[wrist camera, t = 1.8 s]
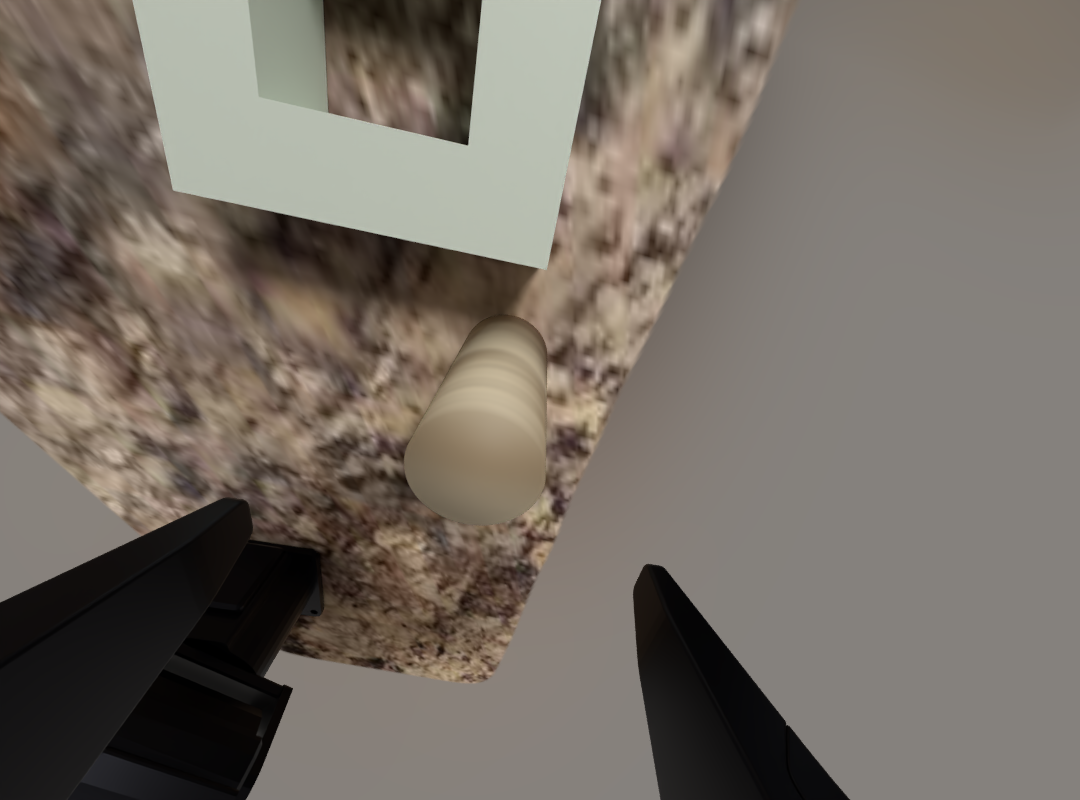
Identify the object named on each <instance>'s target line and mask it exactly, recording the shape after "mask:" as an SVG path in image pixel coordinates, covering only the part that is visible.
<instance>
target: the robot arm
mask: <svg viewBox="0 0 1080 800" xmlns="http://www.w3.org/2000/svg"><path fill="white" fill-rule="evenodd" d="M252 531H253V524H252V518H251V513H250V508H249V504H248V502H247V501H246V500H243V499H236V498H230V497H227V498H222V499H220V500H218V501H216V502H214V503H211V504H209V505H207V506H205V507H203V508H201V509H199V510H196V511H194V512H192V513H190V514H188V515H186V516H184V517H182V518H179V519H177V520H175V521H173V522H171V523H169V524H167V525H164V526H162V527H160V528H158V529H156V530H154V531H152V532H150V533H147V534H145V535H143V536H141V537H139V538H137V539H135V540H133V541H130V542H128V543H126V544H124V545H122V546H120V547H118V548H116V549H113V550H111V551H109V552H107V553H105V554H103V555H101V556H98V557H96V558H94V559H92V560H90V561H88V562H86V563H83V564H81V565H79V566H77V567H75V568H73V569H71V570H69V571H67V572H64V573H62V574H60V575H58V576H56V577H54V578H52V579H49V580H48V581H45V582H43V583H41V584H39V585H37V586H35V587H32V588H30V589H28V590H26V591H24V592H22V593H20V594H18V595H15V596H13V597H11V598H9V599H7V600H5V601H3V602H0V800H246V798H247V797H248V795H249V793H250V791H251V789H252V787H253V785H254V783H255V781H256V779H257V777H258V775H259V773H260V771H261V768H262V766H263V763H264V761H265V758H266V756H267V753H268V751H269V748H270V746H271V743H272V741H273V738H274V735H275V733H276V731H277V728H278V726H279V723H280V720H281V718H282V715H283V713H284V710H285V708H286V705H287V703H288V700H289V698H290V695H291V693H292V690H293V688H291V687H289V686H287V685H283V686H282V685H279V684H277V683H275V682H273V681H270V680H268V679H266V678H264V676H265V674H266V672H267V671H268V669H269V667H270V665H271V664H272V662H273V660H274V659H275V657H276V655H277V654H278V652H279V650H280V649H281V647H282V645H283V643H284V642H285V640H286V638H287V637H288V635H289V633H290V631H291V630H292V628H293V626H294V625H295V623H296V621H297V620H298V618H299V616H300V614H301V615H308V616H320V615H321V614H322V612H323V610H324V601H323V590H322V579H321V569H320V558H319V554H318V553H317V552H316V551H314V550H311V549H305V548H298V547H292V546H285V545H279V544H272V543H266V542H259V541H253V540H249V539H250V537H251V534H252ZM633 600H634V616H635V631H636V645H637V658H638V667H639V675H640V681H641V687H642V693H643V699H644V704H645V711H646V716H647V722H648V728H649V734H650V740H651V745H652V752H653V758H654V763H655V769H656V775H657V781H658V787H659V793H660V799H661V800H850V799H849V798H848V797H847V796H846V795H845V794H844V792H843V791H842V790H841V789H840V788H839V786H838V785H837V784H836V783H835V782H834V781H833V779H832V778H831V777H830V776H829V775H828V773H827V772H826V771H825V770H824V768H823V767H822V766H821V765H820V764H819V762H818V761H817V760H816V759H815V758H814V756H813V755H812V754H811V752H810V751H809V750H808V749H807V748H806V746H805V745H804V744H803V743H802V742H801V740H800V739H799V737H798V736H797V735H796V734H795V732H794V731H793V730H792V729H791V728H790V726H788V725H786V722H785V720H784V719H783V717H782V716H781V715H780V714H779V712H778V711H777V710H776V709H775V707H774V706H773V705H772V704H771V702H770V701H769V700H768V699H767V697H766V696H765V695H764V693H763V692H762V691H761V689H760V688H759V687H758V686H757V684H756V683H755V682H754V681H753V680H752V678H751V677H750V676H749V674H748V673H747V672H746V670H745V669H744V668H743V667H742V665H741V664H740V663H739V662H738V660H737V659H736V658H735V657H734V655H733V654H732V653H731V651H730V650H729V649H728V648H727V646H726V645H725V644H724V643H723V641H722V640H721V639H720V638H719V636H718V635H717V634H716V632H715V631H714V630H713V629H712V627H711V626H710V625H709V624H708V622H707V621H706V620H705V619H704V617H703V616H702V615H701V613H700V612H699V611H698V610H697V608H696V607H695V606H694V605H693V603H692V602H691V601H690V599H689V598H688V597H687V596H686V594H685V593H684V592H683V591H682V589H681V588H680V587H679V586H678V584H677V583H676V582H675V581H674V579H673V578H672V577H671V575H670V574H669V573H668V572H667V571H666V569H665V568H664V567H662V566H659V565H652V564H646V565H645V566H644V567H643V569H642V571H641V573H640V575H639V577H638V579H637V581H636V584H635V586H634V590H633Z"/></svg>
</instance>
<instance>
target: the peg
mask: <svg viewBox="0 0 1080 800" xmlns="http://www.w3.org/2000/svg"><path fill="white" fill-rule="evenodd" d="M546 410H547V348H546V345H545V342H544V339H543V338H542V336H541V334H540V333H539V332H538V330H537V329H536V328H535V327H534V326H533V325H531V324H530V323H529V322H527V321H525V320H524V319H521V318H519V317H515V316H510V315H497V316H493V317H489V318H487V319H485V320H483V321H481V322H480V323H479V324H477V325H476V326H475V327H474V328H473V329H472V331H471V332H470V334H469V336H468V337H467V339H466V341H465V343H464V345H463V346H462V348H461V350H460V352H459V354H458V355H457V357H456V359H455V361H454V363H453V364H452V366H451V368H450V370H449V372H448V373H447V375H446V377H445V379H444V381H443V382H442V384H441V386H440V388H439V390H438V391H437V393H436V395H435V397H434V399H433V400H432V402H431V404H430V406H429V408H428V409H427V411H426V413H425V415H424V417H423V418H422V420H421V422H420V424H419V426H418V427H417V429H416V431H415V433H414V435H413V436H412V438H411V440H410V442H409V444H408V446H407V449H406V452H405V457H404V471H405V476H406V479H407V481H408V484H409V486H410V488H411V489H412V491H413V492H414V494H415V495H416V497H417V498H418V499H419V500H420V501H421V502H422V503H423V504H424V505H425V506H427V507H428V508H429V509H431V510H432V511H434V512H435V513H437V514H439V515H440V516H442V517H445V518H447V519H449V520H452V521H455V522H459V523H463V524H469V525H494V524H499V523H503V522H507V521H510V520H512V519H514V518H517V517H518V516H520V515H522V514H523V513H525V512H526V511H527V510H529V509H530V508H531V507H532V506H533V505H534V504H535V502H536V501H537V500H538V499H539V497H540V495H541V493H542V491H543V488H544V485H545V479H546Z"/></svg>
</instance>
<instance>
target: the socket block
mask: <svg viewBox="0 0 1080 800" xmlns="http://www.w3.org/2000/svg"><path fill="white" fill-rule="evenodd" d="M600 3H601V0H482V8H481V18H480V28H479V39H478V49H477V60H476V70H475V80H474V91H473V101H472V111H471V122H470V132H469V143H468V146H467V145H463V144H459V143H454V142H450V141H446V140H441V139H437V138H433V137H429V136H424V135H420V134H416V133H411V132H407V131H403V130H399V129H394V128H390V127H386V126H381V125H377V124H373V123H368V122H364V121H360V120H356V119H351V118H347V117H343V116H338V115H334V114H330V113H328V99H327V77H326V54H325V32H324V9H323V0H133V4H134V9H135V14H136V18H137V23H138V28H139V32H140V37H141V42H142V46H143V51H144V56H145V61H146V65H147V70H148V75H149V79H150V84H151V89H152V93H153V98H154V103H155V107H156V112H157V117H158V122H159V126H160V131H161V136H162V140H163V145H164V150H165V154H166V159H167V164H168V168H169V173H170V178H171V183H172V187H173V190H174V191H178V192H183V193H188V194H192V195H197V196H202V197H206V198H211V199H216V200H221V201H225V202H230V203H235V204H239V205H244V206H249V207H253V208H258V209H263V210H267V211H272V212H277V213H282V214H286V215H291V216H296V217H300V218H305V219H310V220H314V221H319V222H324V223H329V224H333V225H338V226H343V227H347V228H352V229H357V230H361V231H366V232H371V233H376V234H380V235H385V236H390V237H394V238H399V239H404V240H408V241H413V242H418V243H423V244H427V245H432V246H437V247H441V248H446V249H451V250H455V251H460V252H465V253H470V254H474V255H479V256H484V257H488V258H493V259H498V260H502V261H507V262H512V263H516V264H521V265H526V266H531V267H535V268H540V269H545V270H547V266H548V261H549V256H550V251H551V246H552V241H553V236H554V231H555V226H556V221H557V216H558V211H559V206H560V201H561V196H562V192H563V187H564V182H565V177H566V172H567V167H568V162H569V157H570V152H571V147H572V142H573V137H574V132H575V127H576V122H577V117H578V112H579V107H580V102H581V97H582V92H583V87H584V82H585V77H586V72H587V68H588V63H589V58H590V53H591V48H592V43H593V38H594V33H595V28H596V23H597V18H598V13H599V8H600Z"/></svg>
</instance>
